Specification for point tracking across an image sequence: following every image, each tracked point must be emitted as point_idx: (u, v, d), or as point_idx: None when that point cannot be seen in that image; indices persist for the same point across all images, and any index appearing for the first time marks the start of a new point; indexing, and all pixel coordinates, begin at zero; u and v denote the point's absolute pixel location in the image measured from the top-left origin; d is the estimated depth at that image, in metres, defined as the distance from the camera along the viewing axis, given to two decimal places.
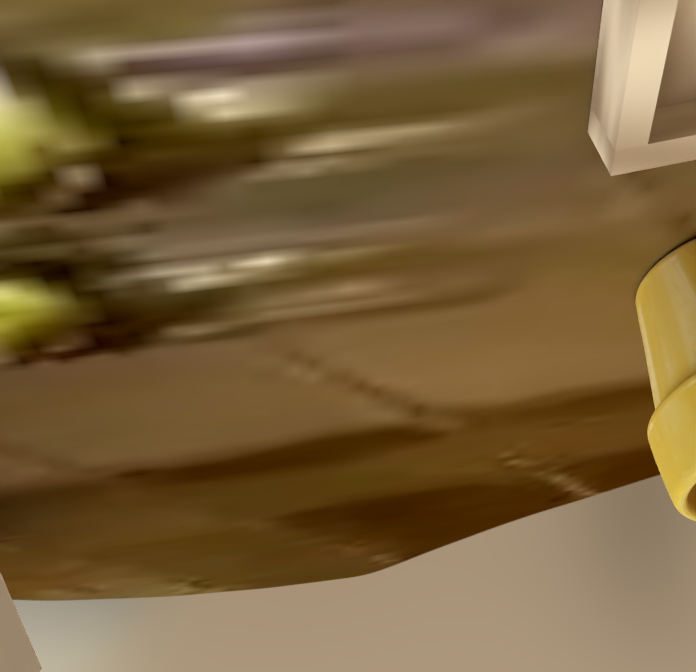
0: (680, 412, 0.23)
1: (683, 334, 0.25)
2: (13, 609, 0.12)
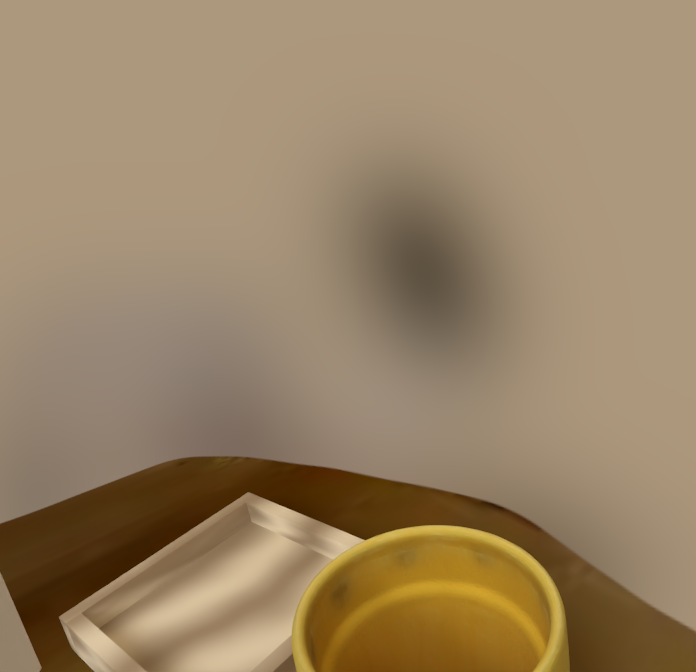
0: None
1: None
2: (13, 609, 0.12)
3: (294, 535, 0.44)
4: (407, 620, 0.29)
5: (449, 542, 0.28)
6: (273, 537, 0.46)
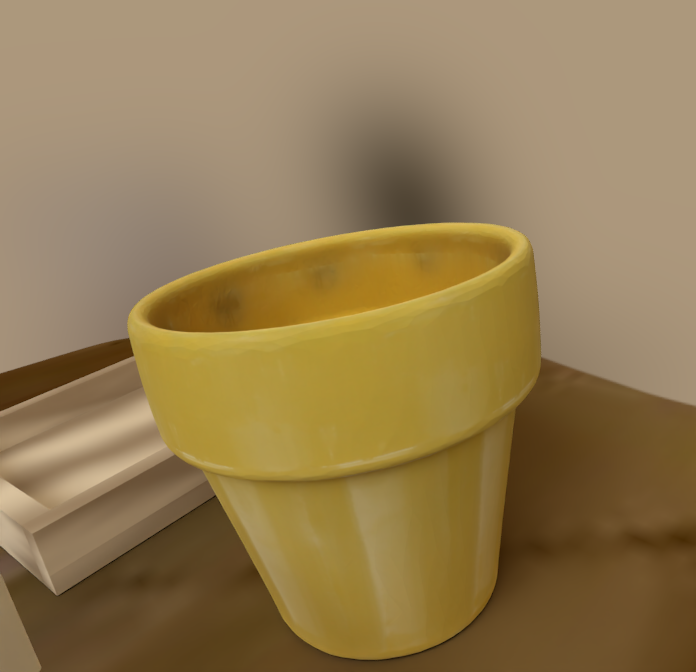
0: None
1: None
2: (13, 609, 0.12)
3: None
4: None
5: (382, 247, 0.21)
6: None
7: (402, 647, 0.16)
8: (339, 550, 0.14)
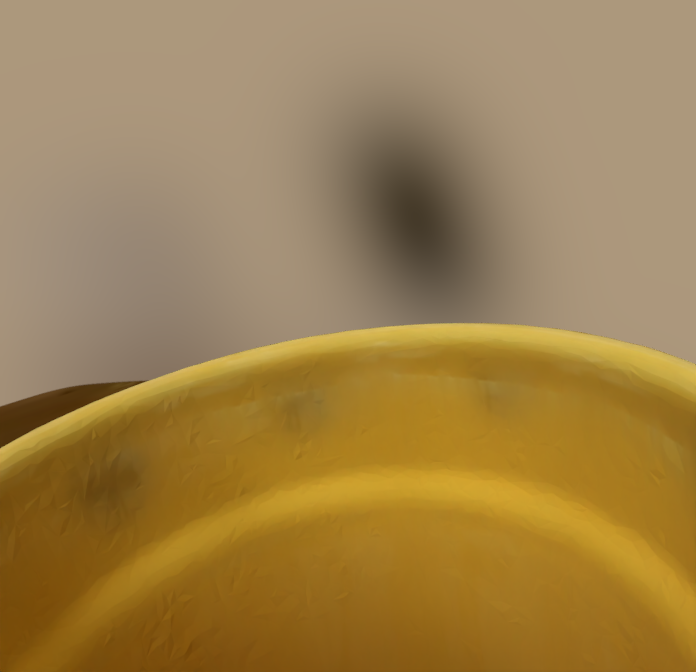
0: None
1: None
2: None
3: None
4: (310, 570, 0.12)
5: (411, 362, 0.11)
6: None
7: None
8: None
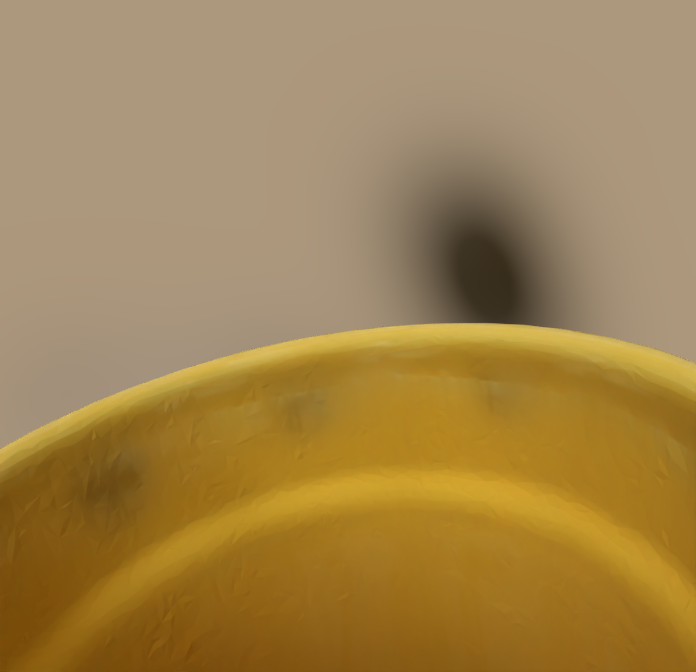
0: None
1: None
2: None
3: None
4: (311, 571, 0.12)
5: (413, 363, 0.11)
6: None
7: None
8: None
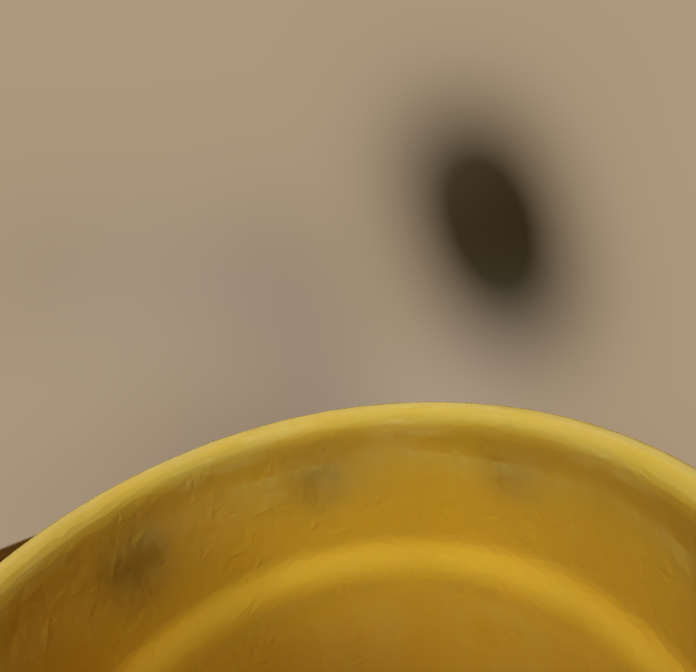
0: None
1: None
2: None
3: None
4: (326, 637, 0.12)
5: (425, 441, 0.11)
6: None
7: None
8: None
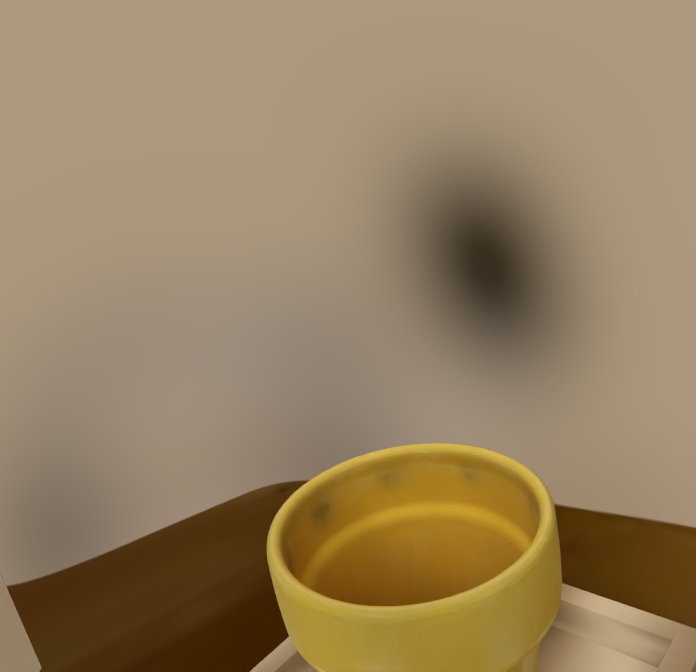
0: (284, 620, 0.22)
1: None
2: (14, 609, 0.12)
3: None
4: (394, 545, 0.28)
5: (436, 459, 0.27)
6: None
7: None
8: None
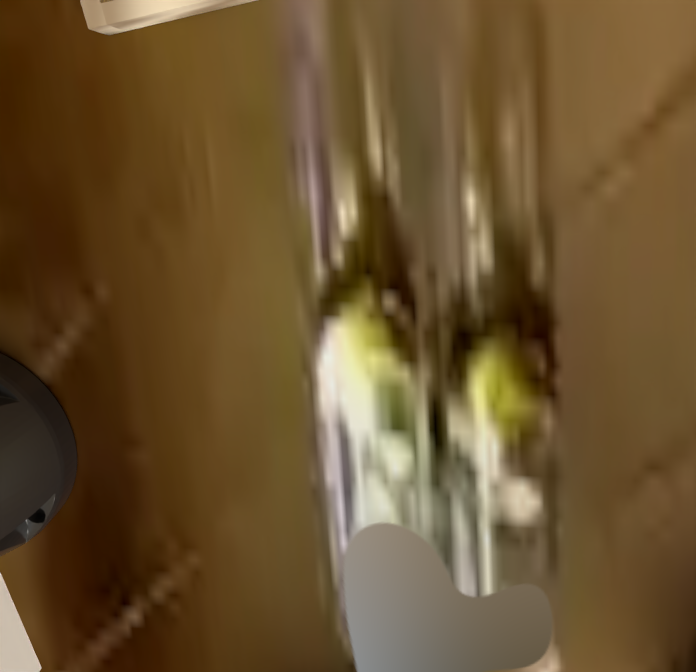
0: None
1: None
2: (13, 609, 0.12)
3: None
4: None
5: None
6: None
7: None
8: None
